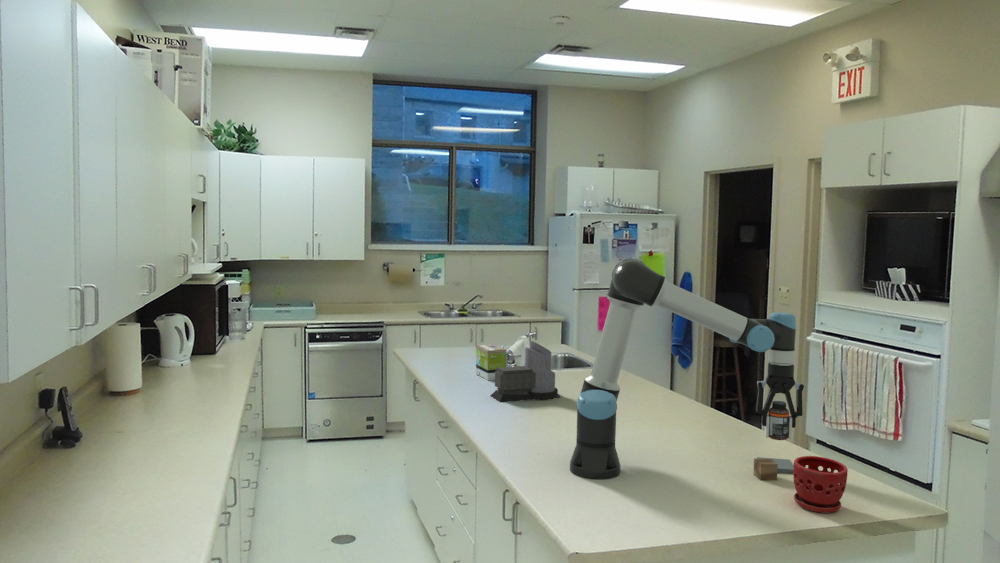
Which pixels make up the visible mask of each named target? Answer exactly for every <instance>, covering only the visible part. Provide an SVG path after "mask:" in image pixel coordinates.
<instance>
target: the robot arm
mask: <svg viewBox="0 0 1000 563" xmlns="http://www.w3.org/2000/svg"><path fill="white" fill-rule="evenodd" d="M609 284H610V285H609V288H608V291H607V292H608V293H607V295H606V298H607V299H608V301H609V306H608V310H607V315H606V317H605V321H604V325H603V329H602V332H601V334H600V335H601V336H600V340H599V343H598V347H597V350H596V354H595V357H594V358H595V359H594V361H593V365H592V369H591V372H590V374H589V375H588V376H585V377H584V379H583V384H582V388H581V391H580V393H579V395H578V397H577V400H576V409H577V410H576V412H577V413H576V441H575V442H576V444H575V447H574V450H573V453H572V456H571V459H570V461H569V462H570V463H569V470H570V472H571V473H572V474H573V475H576V476H579V477H582V478H585V479H586V478H587V479H595V480H596V479H597V480H600V479H605V480H607V479H612V478H615V477H617V476H620V475H621V474H620V473H621V462H620V458H619V455H618V452H617V448H616V435H617V434H616V432H617V431H616V430H617V428H616V427H617V410H618V400H619V398H618V397H619V396H620V390H621V387H620V384H618V380H619V376H620V373H621V369H622V366H623V361H624V358H625V355H626V351H627V347H628V343H629V339H630V338H631V333H632V329H633V326H634V322H635V320H636V319H635V318H636V315H637V312H638V310H639V309H641V308H642V307H644V305H647V306H649V307H651V308H652V307H655V306H658V307H659V308H662V309H663V310H664V309H665V310H667V311H668V312H671V313H672V314H673V313H674V314H675V315H677V316H680V317H682V318H685V319H687V320H689V321H691V322H693V323H695V324H698V325H699V326H703V327H704V328H707V329H708V330H710V331H713V332H715V333H718V334H719V335H722V336H723V337H726V338H727V339H728V338H729V341H730V342H731V343H735V344H742V345H744V346H746V347H747V348H749V349H751V350H752V351H755V352H758V353H764V352H767V351H768V355H767V356H768V357H767V358H768V359H767V360H768V363H767V376H766V379H765V380H761V381H760V380H757V381H756V386H757V396H756V404H755V412H756V413H757V414H758V415H760V416H761V426H763V427H764V436H765V438H769V418H770V417H769V409H770V408H771V406H772V402H773V401H774V398H775V396H776V395H777V394H783V395H784V396H785V400H786V402H787V403H786V405H787V406H788V411H789V431H788V439H789V440H792V432H793V431H792V430H793V428H794V429H795V428H796V424H797V420H796V419H797V417H802V416H803V412H804V411H803V392H804V387H805V385H804V384H803V383H802V382H797V381H795V376H794V375H795V365H794V364H795V358H796V356H795V352H796V350H795V349H796V346H795V345H796V335H797V334H796V332H797V320H796V317H797V316H796V315H795V314H793V313H791V312H782V311H781V312H776V311H775V312H771V313H770V314H769V318H765V319H763V318H761V319H760V318H748V317H746V316H744V315H741V314H739V313H737V312H735V311H733V310H730V309H728V308H726V307H724V306H722V305H720V304H717V303H715V302H712V301H710V300H708V299H707V298H704V297H702V296H700V295H697V294H695V293H693V292H691V291H688V290H687V289H685V288H682V287H680V286H677V285H676V284H673V283H671V282H669V281H668V279H667V277H665V275H662V274H659V273H657V272H656V271H654V270H653V269H651V268H650V267H649V266H647V264H646V263H644V262H643V261H642V260H639V259H637V258H632V257H631V258H625V259H621V261H619V262H617V264H616V265H615V266H614V268H613V269H612V272H611V280H610V283H609ZM766 385H767V386H768V388H769V391H768V394H767V397H766V399H765V403H764V406H763V399H764V389H765V388H766ZM793 387H794V388H795V392H796V397H795V398H796V410H795V407H794V404H793V400H792V396H791V389H793ZM762 407H763V408H762Z"/></svg>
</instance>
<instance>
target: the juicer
mask: <svg viewBox="0 0 1000 563" xmlns="http://www.w3.org/2000/svg"><path fill="white" fill-rule="evenodd" d="M494 387H495V388H496V389H495V391H493V392H492V394H490V395H489V397H491V398H492V397H493V399H494V400H495V399H496V400H495V401H497V402H498V403H508V401H511V402H521V401H520V400H524V401H532V400H531V399H535V400H534V401H549V400H548V399H551V400H554V398H557V399H560V398H561V397H560V396H561V394H559V393H558V392H559V389H558V388H557V387H556V373H555V371H553V370H552V351H551V350H549V349H548V348H546V347H544V346H542V345H541V344H540V343H537V342H536V341H533V340H529V347H528V346H525V348H524V365H521V366H506V367H501V368H497V371H495V380H494Z"/></svg>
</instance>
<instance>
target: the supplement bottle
mask: <svg viewBox="0 0 1000 563" xmlns="http://www.w3.org/2000/svg"><path fill="white" fill-rule="evenodd" d="M786 402H787V401H786ZM786 402H785V401H783V400H773V401H772V403H771V406H772V407H770V409H769V411H768V415H769V417H770V418H769V438H770V439H771V440H775V441H787V440H788V439H789V438H788V431H789V416H790V411H789V409H787V403H786Z"/></svg>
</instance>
